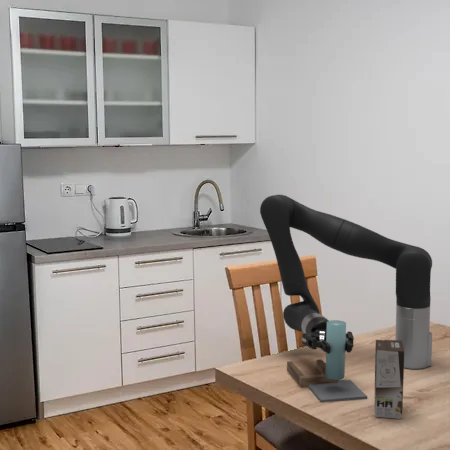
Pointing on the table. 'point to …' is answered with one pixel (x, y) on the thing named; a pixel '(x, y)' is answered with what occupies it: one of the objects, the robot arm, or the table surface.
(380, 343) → the coffee box
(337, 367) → the canister
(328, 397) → the felt pad
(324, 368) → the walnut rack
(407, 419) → the table surface
